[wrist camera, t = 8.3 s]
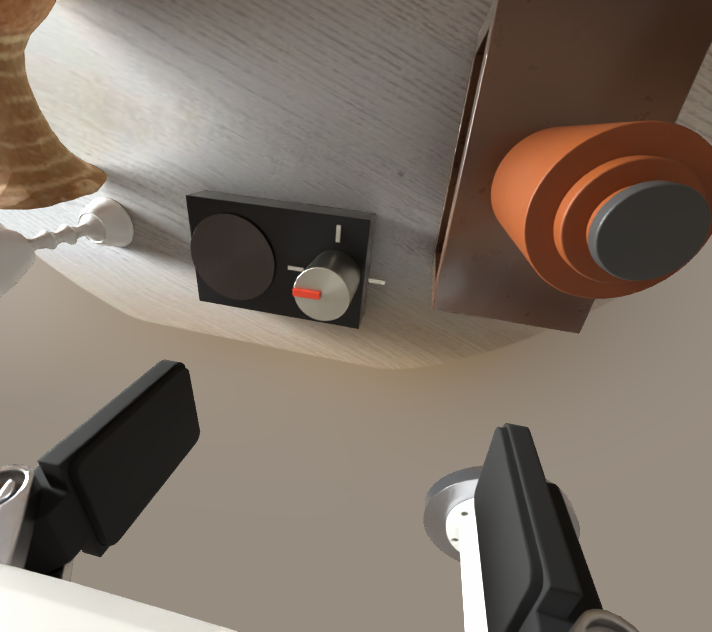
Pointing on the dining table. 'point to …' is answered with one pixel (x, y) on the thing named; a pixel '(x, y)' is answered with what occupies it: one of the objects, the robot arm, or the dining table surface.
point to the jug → (32, 125)
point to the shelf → (545, 110)
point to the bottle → (606, 204)
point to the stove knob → (327, 285)
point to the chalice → (64, 238)
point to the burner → (233, 256)
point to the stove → (292, 247)
